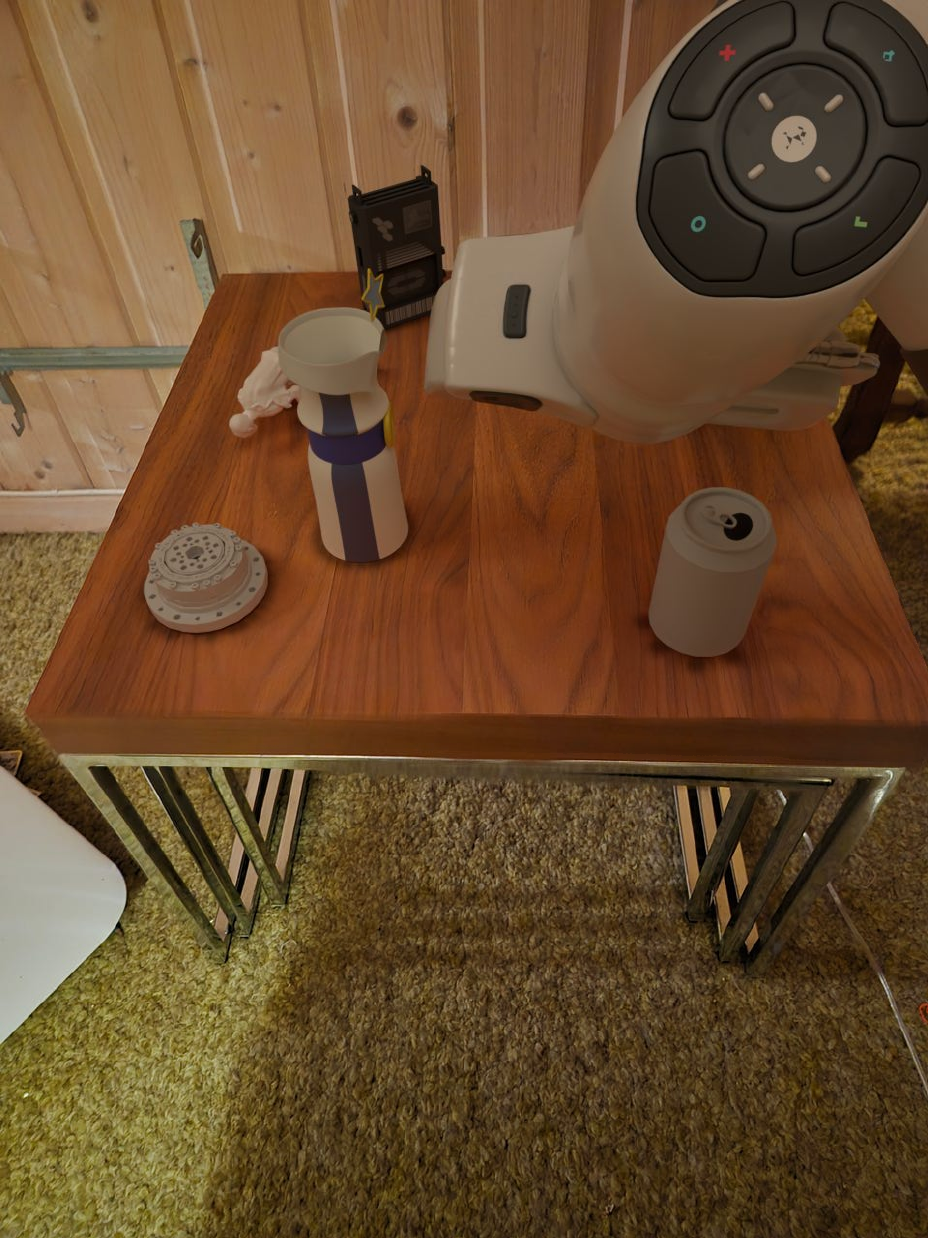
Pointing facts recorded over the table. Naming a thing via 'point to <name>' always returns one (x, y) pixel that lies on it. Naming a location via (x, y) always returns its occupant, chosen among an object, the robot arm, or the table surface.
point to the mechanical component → (204, 578)
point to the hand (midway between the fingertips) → (603, 400)
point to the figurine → (263, 394)
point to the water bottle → (347, 426)
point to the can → (711, 571)
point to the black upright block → (399, 246)
